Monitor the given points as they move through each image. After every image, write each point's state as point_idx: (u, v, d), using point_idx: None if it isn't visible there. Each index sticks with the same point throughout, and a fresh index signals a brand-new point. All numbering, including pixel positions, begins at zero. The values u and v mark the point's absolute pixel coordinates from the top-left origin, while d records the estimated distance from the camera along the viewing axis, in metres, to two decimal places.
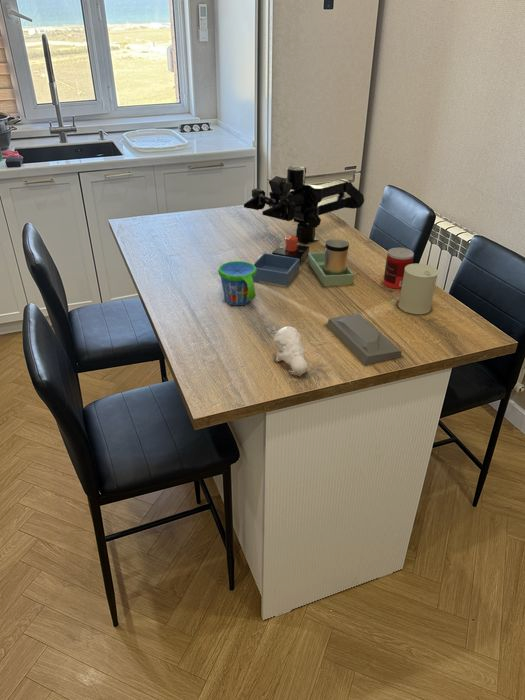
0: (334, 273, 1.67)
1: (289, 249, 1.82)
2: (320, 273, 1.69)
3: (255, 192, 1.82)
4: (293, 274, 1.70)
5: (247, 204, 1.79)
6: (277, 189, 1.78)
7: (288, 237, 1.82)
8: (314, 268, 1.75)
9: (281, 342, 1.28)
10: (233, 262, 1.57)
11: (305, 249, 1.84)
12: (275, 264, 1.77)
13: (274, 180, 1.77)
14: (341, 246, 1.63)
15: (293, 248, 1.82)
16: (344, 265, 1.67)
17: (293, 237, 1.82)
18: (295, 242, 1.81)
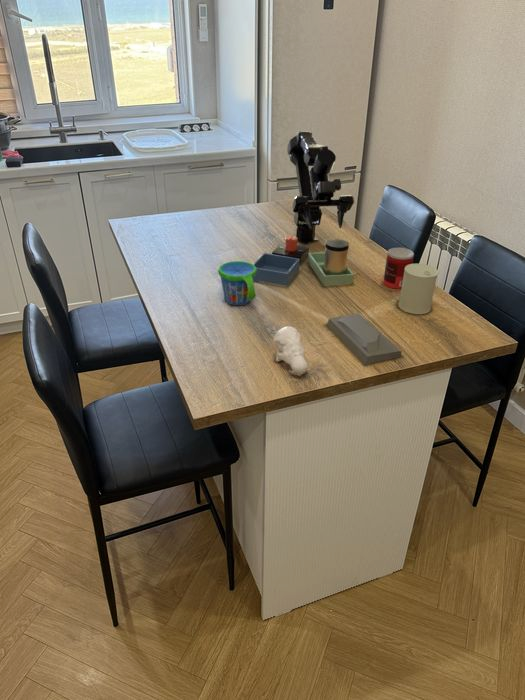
0: (334, 273, 1.67)
1: (289, 249, 1.82)
2: (320, 273, 1.69)
3: (305, 205, 1.69)
4: (293, 274, 1.70)
5: None
6: (329, 192, 1.68)
7: (288, 237, 1.82)
8: (314, 268, 1.75)
9: (281, 342, 1.28)
10: (233, 262, 1.57)
11: (305, 249, 1.84)
12: (275, 264, 1.77)
13: (328, 189, 1.66)
14: (341, 246, 1.63)
15: (293, 248, 1.82)
16: (344, 265, 1.67)
17: (293, 237, 1.82)
18: (295, 242, 1.81)
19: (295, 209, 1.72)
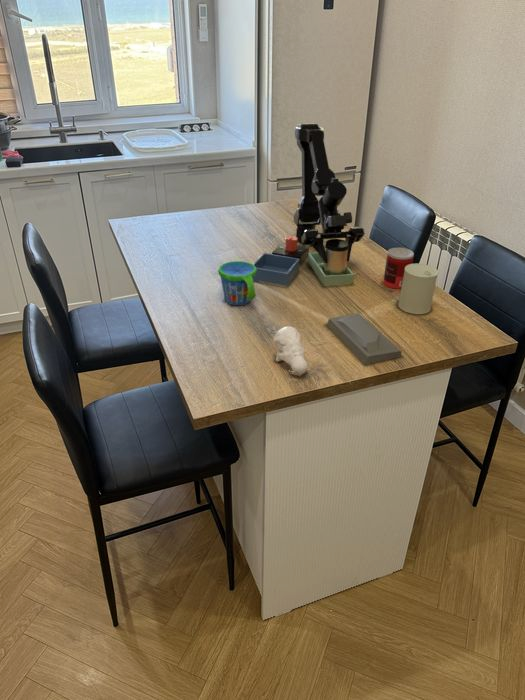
0: (334, 273, 1.67)
1: (289, 249, 1.82)
2: (320, 273, 1.69)
3: (318, 239, 1.65)
4: (293, 274, 1.70)
5: None
6: (339, 225, 1.65)
7: (288, 237, 1.82)
8: (314, 268, 1.75)
9: (281, 342, 1.28)
10: (233, 262, 1.57)
11: (305, 249, 1.84)
12: (275, 264, 1.77)
13: (339, 223, 1.62)
14: (341, 246, 1.63)
15: (293, 248, 1.82)
16: (344, 265, 1.67)
17: (293, 237, 1.82)
18: (295, 242, 1.81)
19: (304, 242, 1.68)
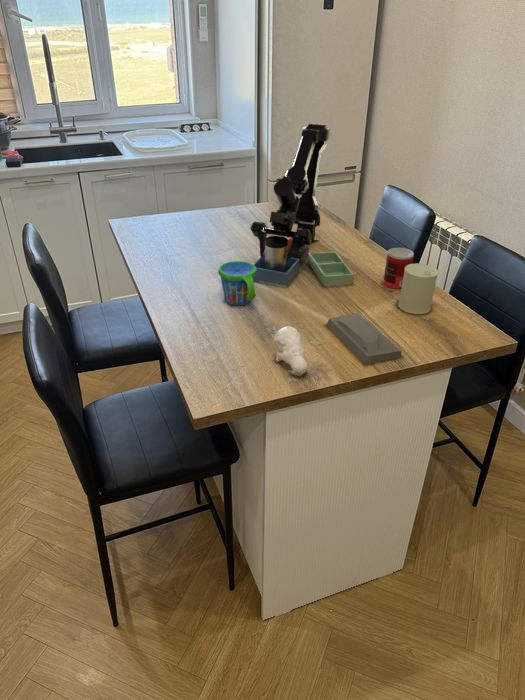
0: (268, 269, 1.69)
1: (289, 249, 1.82)
2: (320, 273, 1.69)
3: (258, 232, 1.69)
4: (293, 274, 1.70)
5: (262, 252, 1.69)
6: None
7: (288, 237, 1.82)
8: (314, 268, 1.75)
9: (281, 342, 1.28)
10: (233, 262, 1.57)
11: (305, 249, 1.84)
12: None
13: (276, 220, 1.63)
14: (274, 243, 1.64)
15: None
16: (279, 263, 1.67)
17: None
18: None
19: (254, 234, 1.73)
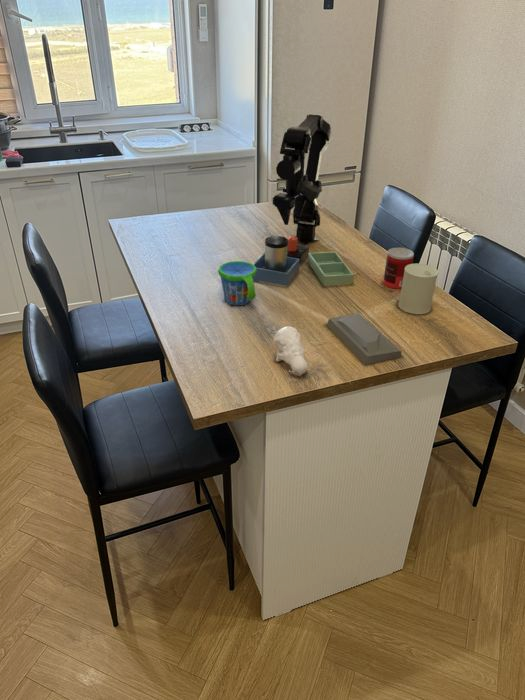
0: (268, 269, 1.69)
1: (289, 249, 1.82)
2: (320, 273, 1.69)
3: (292, 207, 1.69)
4: (293, 274, 1.70)
5: None
6: None
7: (288, 237, 1.82)
8: (314, 268, 1.75)
9: (281, 342, 1.28)
10: (233, 262, 1.57)
11: (305, 249, 1.84)
12: None
13: (316, 197, 1.71)
14: (274, 243, 1.64)
15: (293, 248, 1.82)
16: (279, 263, 1.67)
17: (293, 237, 1.82)
18: (295, 242, 1.81)
19: None
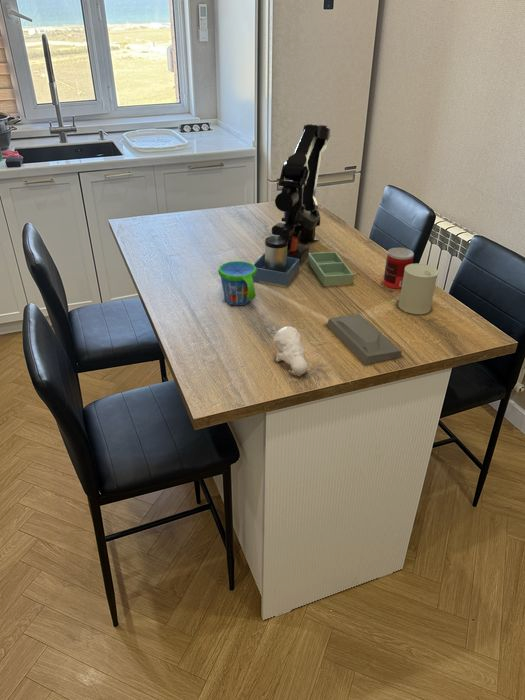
0: (268, 269, 1.69)
1: None
2: (320, 273, 1.69)
3: (294, 234, 1.76)
4: (293, 274, 1.70)
5: None
6: None
7: None
8: (314, 268, 1.75)
9: (281, 342, 1.28)
10: (233, 262, 1.57)
11: (305, 249, 1.84)
12: None
13: (314, 226, 1.76)
14: (274, 243, 1.64)
15: (293, 248, 1.82)
16: (279, 263, 1.67)
17: (293, 237, 1.82)
18: (295, 242, 1.81)
19: (277, 234, 1.74)
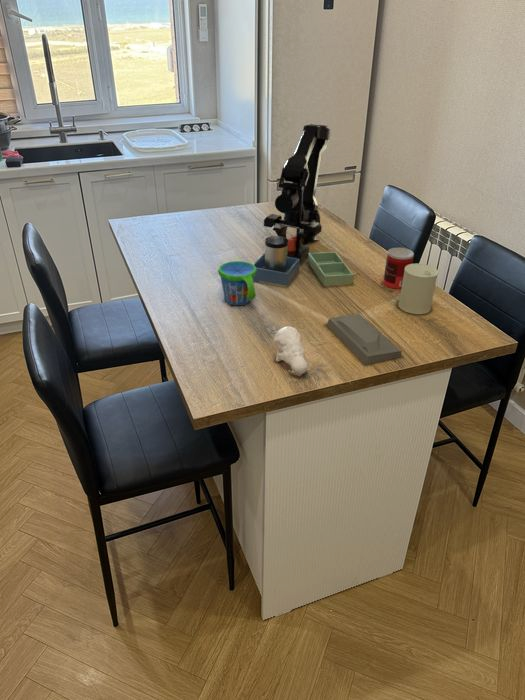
0: (268, 269, 1.69)
1: None
2: (320, 273, 1.69)
3: None
4: (293, 274, 1.70)
5: None
6: None
7: (290, 239, 1.81)
8: (314, 268, 1.75)
9: (281, 342, 1.28)
10: (233, 262, 1.57)
11: (305, 249, 1.84)
12: None
13: None
14: (274, 243, 1.64)
15: None
16: (279, 263, 1.67)
17: (290, 237, 1.82)
18: None
19: None
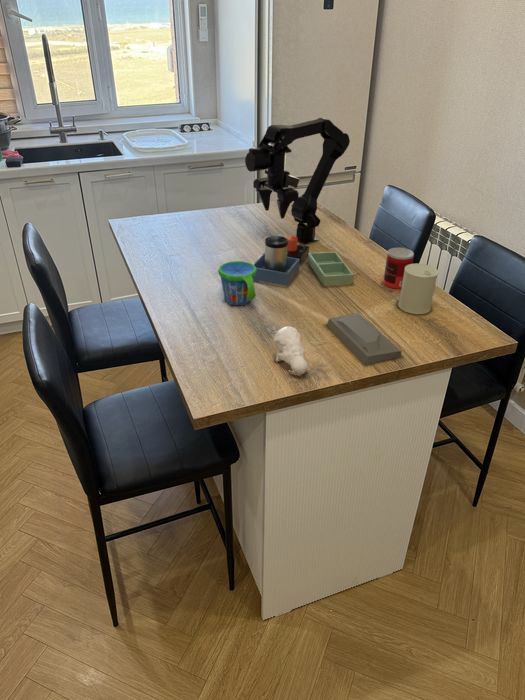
0: (268, 269, 1.69)
1: (296, 248, 1.83)
2: (320, 273, 1.69)
3: None
4: (293, 274, 1.70)
5: None
6: None
7: (290, 239, 1.81)
8: (314, 268, 1.75)
9: (281, 342, 1.28)
10: (233, 262, 1.57)
11: (305, 249, 1.84)
12: None
13: None
14: (274, 243, 1.64)
15: None
16: (279, 263, 1.67)
17: (290, 237, 1.82)
18: None
19: (288, 200, 1.76)
